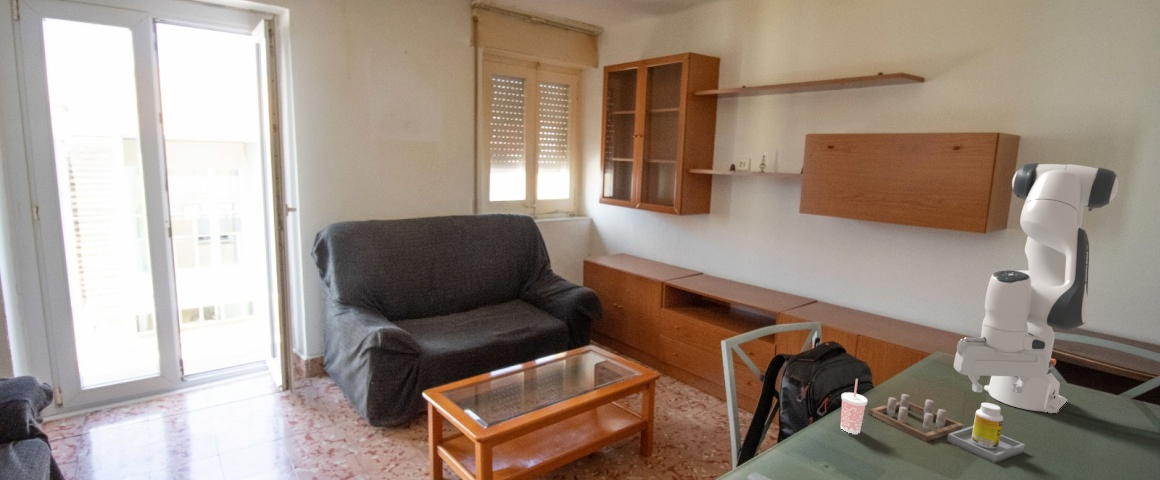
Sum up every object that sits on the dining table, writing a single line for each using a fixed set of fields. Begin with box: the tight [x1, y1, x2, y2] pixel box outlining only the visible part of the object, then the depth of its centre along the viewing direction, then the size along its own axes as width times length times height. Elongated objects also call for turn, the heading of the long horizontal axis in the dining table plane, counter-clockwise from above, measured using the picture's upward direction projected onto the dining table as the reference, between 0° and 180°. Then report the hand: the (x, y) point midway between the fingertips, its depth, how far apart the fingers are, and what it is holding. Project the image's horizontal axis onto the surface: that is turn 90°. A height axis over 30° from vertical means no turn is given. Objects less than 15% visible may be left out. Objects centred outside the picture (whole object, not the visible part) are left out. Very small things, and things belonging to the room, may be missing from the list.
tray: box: [946, 425, 1026, 464], centre depth 141 cm, size 13×11×2 cm
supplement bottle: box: [972, 402, 1004, 449], centre depth 140 cm, size 6×6×10 cm
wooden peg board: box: [868, 393, 964, 442], centre depth 152 cm, size 16×16×5 cm
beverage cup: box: [840, 378, 869, 435], centre depth 146 cm, size 6×6×14 cm
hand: (997, 391), depth 139 cm, fingers open, 8 cm apart
